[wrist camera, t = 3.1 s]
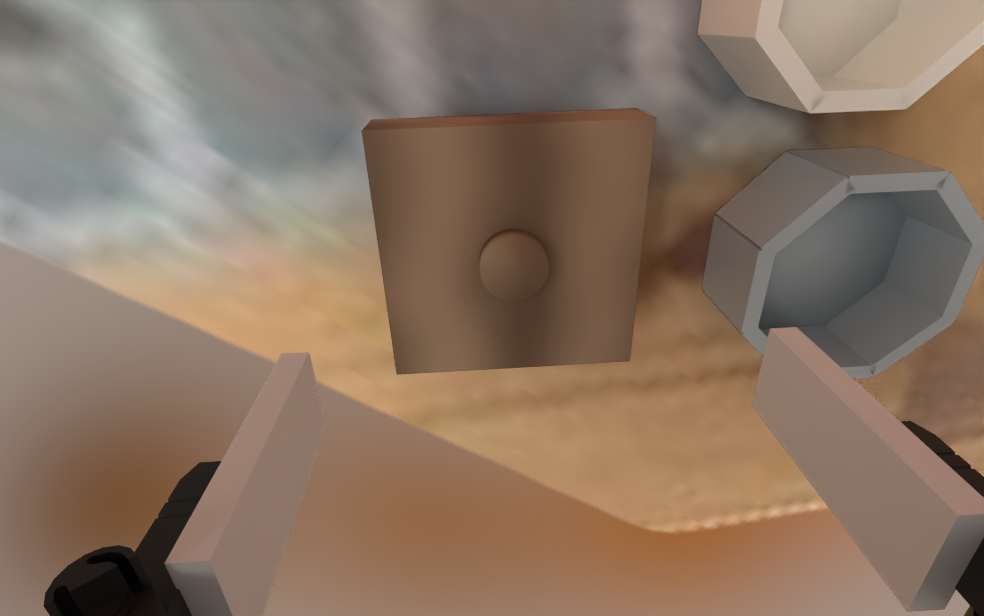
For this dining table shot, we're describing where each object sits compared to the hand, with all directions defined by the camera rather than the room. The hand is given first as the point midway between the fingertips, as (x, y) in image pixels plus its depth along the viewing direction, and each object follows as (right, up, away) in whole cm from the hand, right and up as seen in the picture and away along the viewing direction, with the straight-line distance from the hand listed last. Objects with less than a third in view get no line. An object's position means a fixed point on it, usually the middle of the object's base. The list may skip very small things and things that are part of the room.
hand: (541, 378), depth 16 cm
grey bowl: (+16, +5, +15) cm, 23 cm away
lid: (-1, +5, +9) cm, 11 cm away
